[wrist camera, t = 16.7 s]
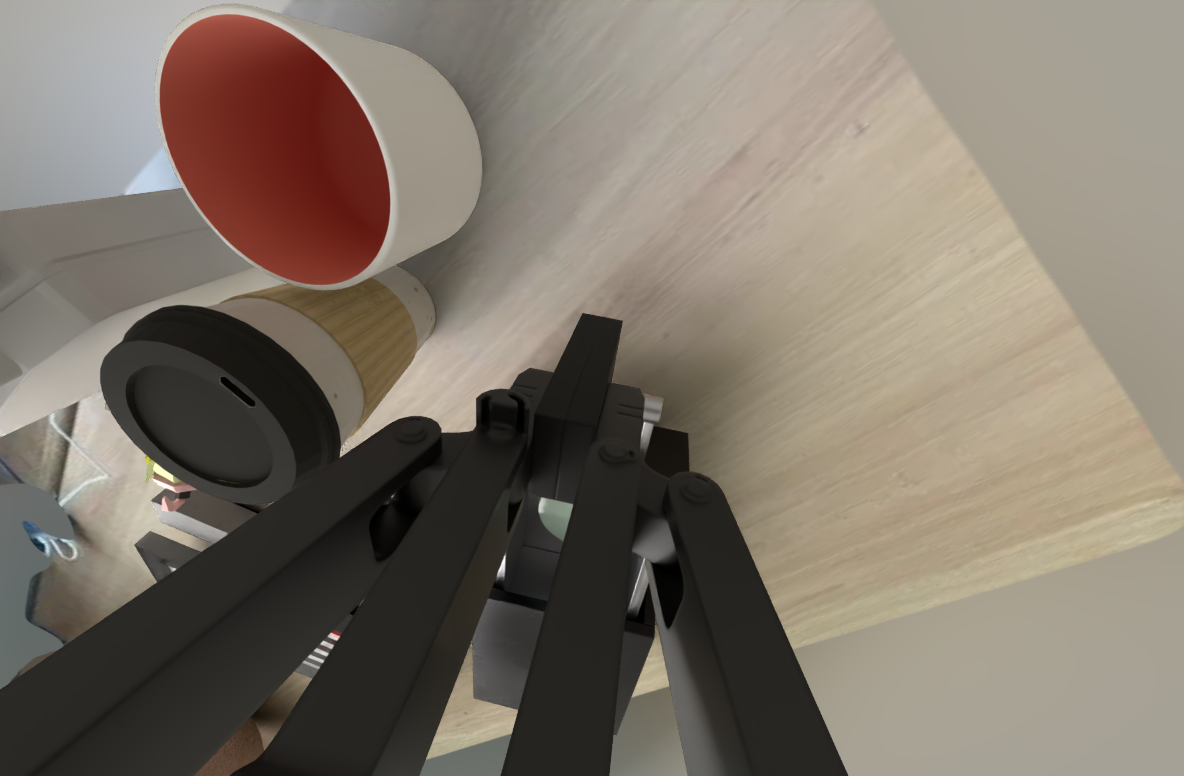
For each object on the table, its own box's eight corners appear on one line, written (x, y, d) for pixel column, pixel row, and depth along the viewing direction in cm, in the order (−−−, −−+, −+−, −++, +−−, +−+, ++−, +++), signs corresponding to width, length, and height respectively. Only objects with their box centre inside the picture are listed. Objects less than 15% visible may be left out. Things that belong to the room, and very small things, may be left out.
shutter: (421, 660, 69) (462, 585, 49) (399, 713, 64) (435, 652, 44) (217, 589, 65) (171, 477, 45) (174, 639, 60) (102, 537, 40)
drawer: (522, 336, 30) (484, 388, 24) (707, 373, 29) (715, 436, 23) (511, 536, 41) (483, 605, 35) (645, 567, 40) (639, 644, 34)
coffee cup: (303, 290, 32) (54, 400, 19) (380, 203, 27) (128, 269, 15) (404, 389, 35) (249, 540, 22) (488, 323, 31) (355, 464, 18)
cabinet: (509, 506, 40) (470, 593, 32) (658, 540, 39) (654, 638, 31) (504, 611, 49) (473, 698, 41) (625, 640, 48) (616, 735, 40)
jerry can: (292, 146, 27) (-1198, 227, 5) (352, 220, 28) (-598, 497, 7) (180, 274, 33) (-723, 546, 12) (236, 328, 35) (-461, 650, 13)
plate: (643, 471, 32) (641, 492, 31) (626, 535, 36) (623, 557, 34) (549, 451, 33) (541, 470, 31) (541, 516, 37) (534, 537, 35)
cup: (431, 273, 29) (331, 333, 21) (301, 152, 27) (127, 166, 18) (524, 155, 25) (445, 171, 16) (378, -5, 22) (193, -85, 14)
